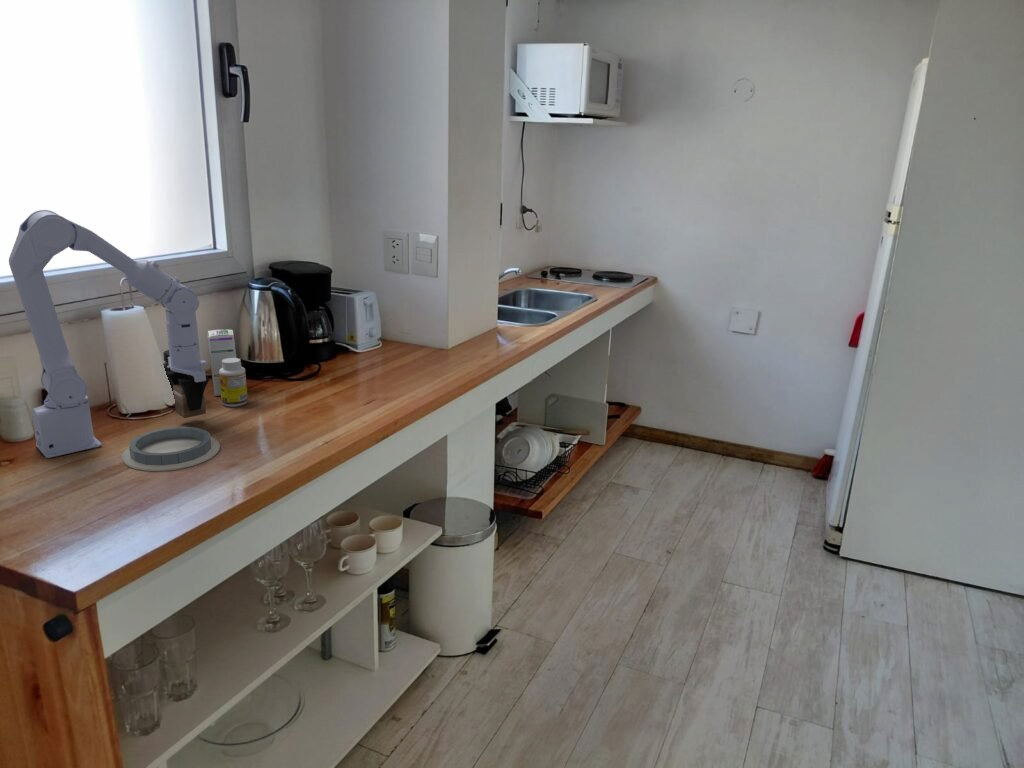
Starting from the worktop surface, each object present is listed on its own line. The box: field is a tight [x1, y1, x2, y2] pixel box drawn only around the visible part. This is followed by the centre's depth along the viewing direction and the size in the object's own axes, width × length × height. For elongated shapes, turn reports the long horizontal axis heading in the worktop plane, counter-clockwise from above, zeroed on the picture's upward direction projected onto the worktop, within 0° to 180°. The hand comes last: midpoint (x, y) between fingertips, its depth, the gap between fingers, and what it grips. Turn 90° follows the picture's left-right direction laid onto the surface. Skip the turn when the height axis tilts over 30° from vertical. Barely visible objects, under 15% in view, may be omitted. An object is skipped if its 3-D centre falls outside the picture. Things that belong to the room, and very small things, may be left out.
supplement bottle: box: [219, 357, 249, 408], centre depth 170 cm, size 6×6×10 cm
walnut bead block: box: [173, 384, 207, 419], centre depth 158 cm, size 5×5×6 cm
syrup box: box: [207, 328, 238, 397], centre depth 177 cm, size 6×6×14 cm
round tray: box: [121, 426, 221, 472], centre depth 144 cm, size 17×17×2 cm
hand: (190, 406), depth 158 cm, fingers closed on walnut bead block, 4 cm apart
